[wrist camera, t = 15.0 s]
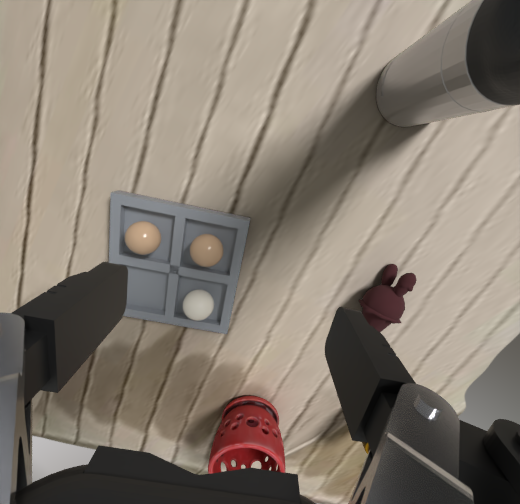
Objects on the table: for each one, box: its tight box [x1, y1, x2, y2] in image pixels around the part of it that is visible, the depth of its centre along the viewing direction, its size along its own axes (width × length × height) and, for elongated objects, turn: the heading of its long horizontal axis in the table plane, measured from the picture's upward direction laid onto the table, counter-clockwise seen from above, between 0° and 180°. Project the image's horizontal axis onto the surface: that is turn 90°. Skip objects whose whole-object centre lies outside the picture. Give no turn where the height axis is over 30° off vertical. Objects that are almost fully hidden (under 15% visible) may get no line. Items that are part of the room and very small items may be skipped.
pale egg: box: [183, 289, 214, 321], centre depth 44 cm, size 5×5×5 cm
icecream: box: [359, 264, 416, 332], centre depth 44 cm, size 7×7×15 cm
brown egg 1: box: [125, 221, 161, 255], centre depth 40 cm, size 5×5×5 cm
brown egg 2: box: [190, 234, 223, 267], centre depth 41 cm, size 5×5×5 cm
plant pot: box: [208, 396, 285, 474], centre depth 51 cm, size 13×13×12 cm
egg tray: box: [109, 191, 250, 334], centre depth 44 cm, size 20×20×2 cm
